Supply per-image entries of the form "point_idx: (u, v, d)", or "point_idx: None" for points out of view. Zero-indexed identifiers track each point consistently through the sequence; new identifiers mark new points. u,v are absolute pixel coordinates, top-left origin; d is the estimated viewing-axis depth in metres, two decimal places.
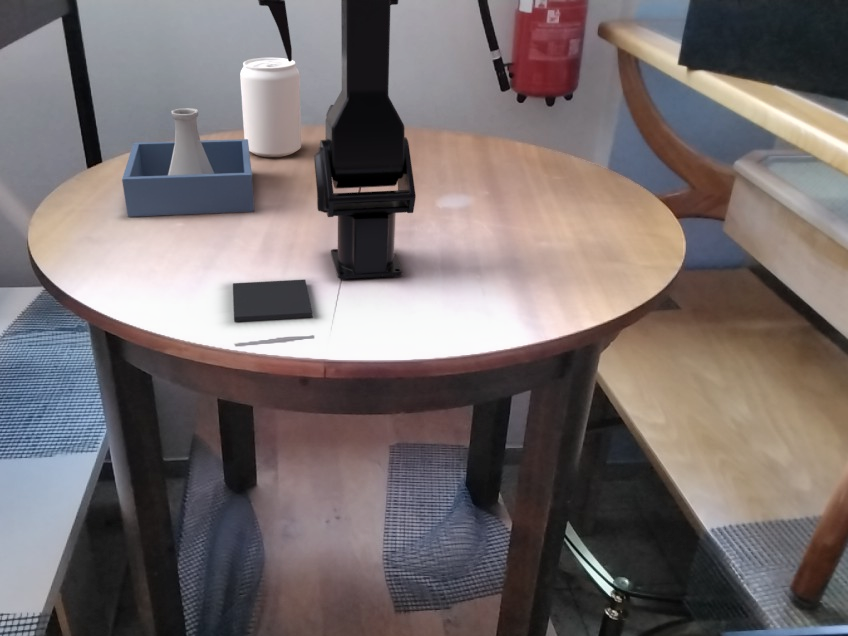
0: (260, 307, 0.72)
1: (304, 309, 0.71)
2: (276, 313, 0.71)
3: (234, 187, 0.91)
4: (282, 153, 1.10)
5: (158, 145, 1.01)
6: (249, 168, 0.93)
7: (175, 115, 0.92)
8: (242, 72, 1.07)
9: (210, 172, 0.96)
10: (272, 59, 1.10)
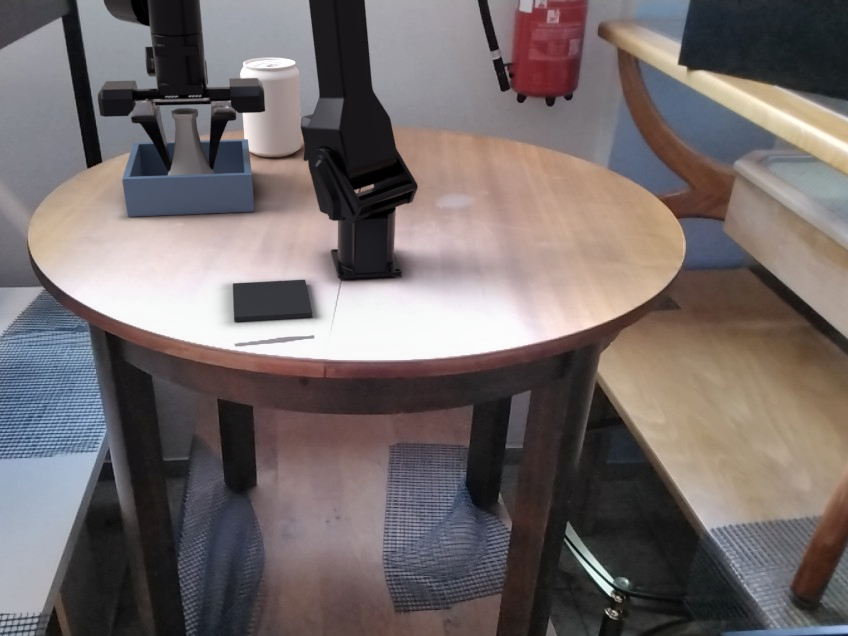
0: (260, 307, 0.72)
1: (304, 309, 0.71)
2: (276, 313, 0.71)
3: (234, 187, 0.91)
4: (282, 153, 1.10)
5: None
6: (249, 168, 0.93)
7: (175, 115, 0.92)
8: (242, 72, 1.07)
9: (210, 172, 0.96)
10: (272, 59, 1.10)
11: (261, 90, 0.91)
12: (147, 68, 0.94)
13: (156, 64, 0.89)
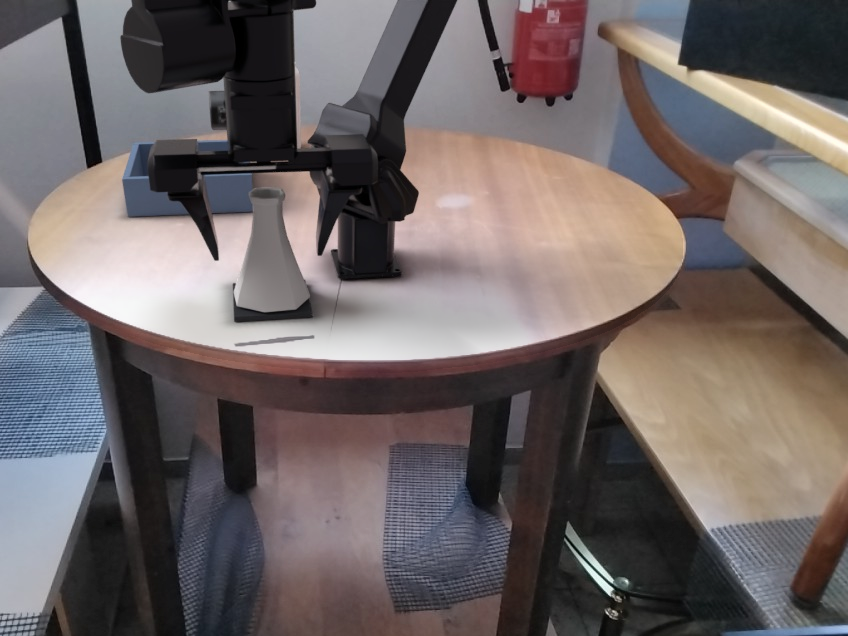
0: None
1: (304, 309, 0.71)
2: (276, 313, 0.71)
3: (234, 187, 0.91)
4: None
5: None
6: None
7: (255, 199, 0.67)
8: None
9: (297, 271, 0.71)
10: None
11: (374, 154, 0.65)
12: (212, 120, 0.68)
13: (230, 119, 0.63)
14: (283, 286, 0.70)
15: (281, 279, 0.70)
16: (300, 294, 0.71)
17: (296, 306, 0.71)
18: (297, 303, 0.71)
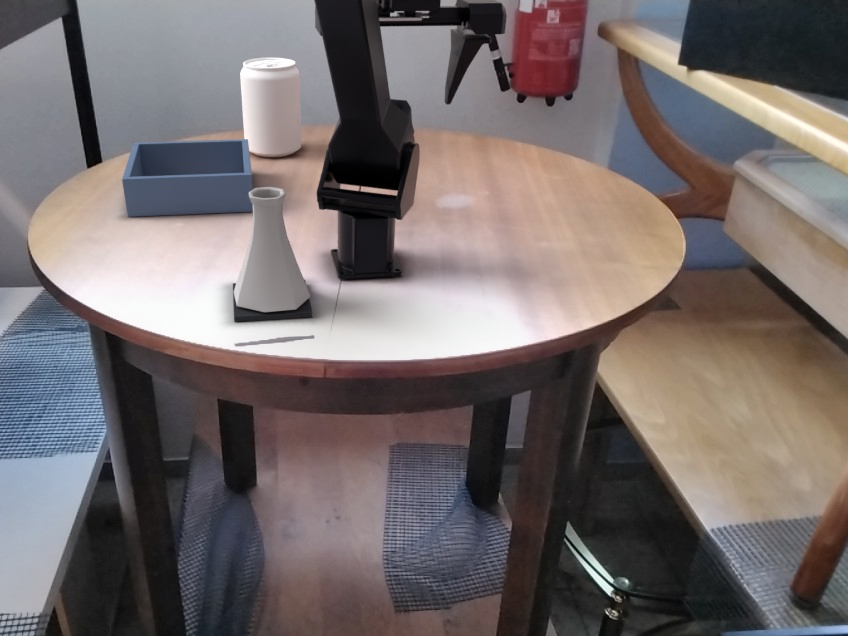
0: None
1: (304, 309, 0.71)
2: (276, 313, 0.71)
3: (234, 187, 0.91)
4: (282, 153, 1.10)
5: (158, 145, 1.01)
6: (249, 168, 0.93)
7: (255, 199, 0.67)
8: (242, 72, 1.07)
9: (297, 271, 0.71)
10: (272, 59, 1.10)
11: (503, 8, 0.78)
12: None
13: None
14: (283, 286, 0.70)
15: (282, 279, 0.70)
16: (300, 294, 0.71)
17: (296, 306, 0.71)
18: (297, 303, 0.71)
